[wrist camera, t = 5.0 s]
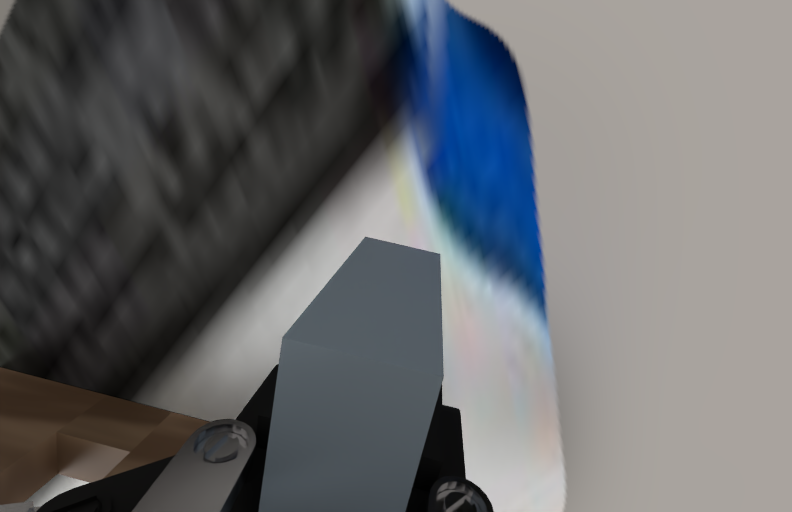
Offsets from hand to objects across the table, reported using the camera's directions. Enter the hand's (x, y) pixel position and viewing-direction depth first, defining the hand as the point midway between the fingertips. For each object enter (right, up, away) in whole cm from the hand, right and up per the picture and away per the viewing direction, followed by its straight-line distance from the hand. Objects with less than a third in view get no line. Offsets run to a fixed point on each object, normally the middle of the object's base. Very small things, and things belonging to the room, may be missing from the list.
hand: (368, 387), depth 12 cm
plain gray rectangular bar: (-1, -5, +4) cm, 6 cm away
